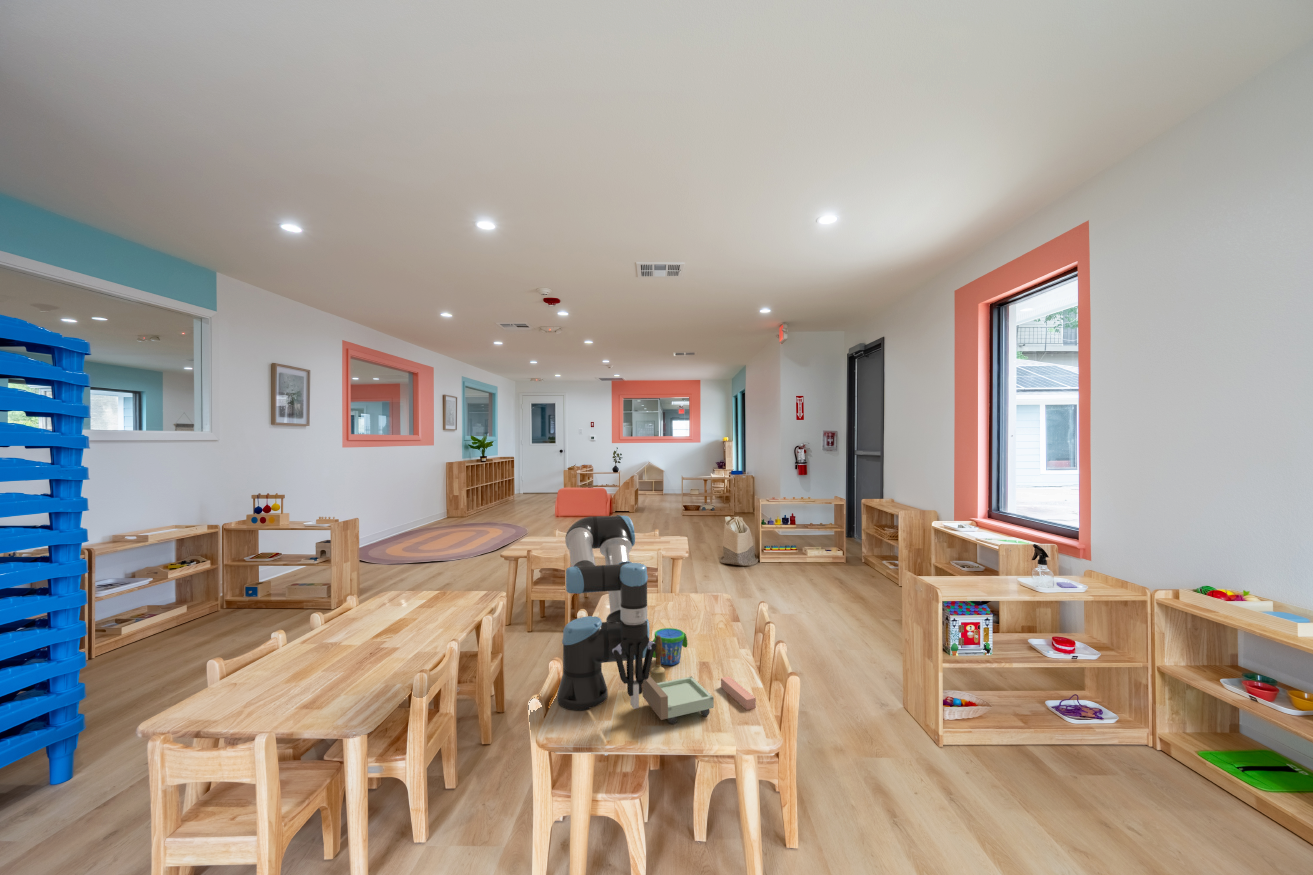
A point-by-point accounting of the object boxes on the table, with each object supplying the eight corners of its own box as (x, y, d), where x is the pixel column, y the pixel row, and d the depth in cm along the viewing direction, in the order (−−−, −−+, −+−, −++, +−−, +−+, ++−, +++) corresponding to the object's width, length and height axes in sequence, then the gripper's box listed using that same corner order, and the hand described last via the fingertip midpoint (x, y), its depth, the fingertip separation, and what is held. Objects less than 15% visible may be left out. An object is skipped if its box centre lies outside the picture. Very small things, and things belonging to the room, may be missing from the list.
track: (658, 732, 138) (658, 719, 138) (638, 706, 152) (638, 694, 152) (755, 709, 150) (755, 697, 150) (729, 686, 163) (729, 676, 163)
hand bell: (656, 677, 170) (655, 629, 170) (676, 685, 165) (675, 635, 165) (639, 687, 164) (639, 636, 164) (659, 695, 159) (659, 643, 159)
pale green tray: (661, 728, 139) (660, 697, 139) (642, 704, 152) (642, 675, 152) (713, 716, 145) (713, 686, 145) (691, 693, 158) (691, 666, 158)
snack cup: (678, 651, 191) (678, 624, 191) (696, 661, 183) (695, 632, 183) (642, 661, 183) (642, 632, 183) (659, 672, 174) (659, 642, 174)
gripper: (615, 628, 138) (616, 717, 137) (660, 621, 143) (661, 707, 142) (607, 619, 145) (608, 704, 144) (650, 613, 150) (651, 695, 149)
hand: (634, 705), depth 143 cm, fingers closed
